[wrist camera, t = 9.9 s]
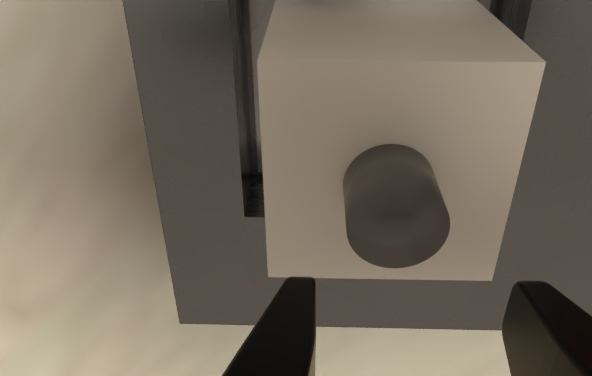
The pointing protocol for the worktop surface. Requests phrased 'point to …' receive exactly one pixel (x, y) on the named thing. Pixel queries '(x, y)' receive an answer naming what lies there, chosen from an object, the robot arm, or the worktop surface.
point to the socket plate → (249, 174)
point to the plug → (391, 137)
